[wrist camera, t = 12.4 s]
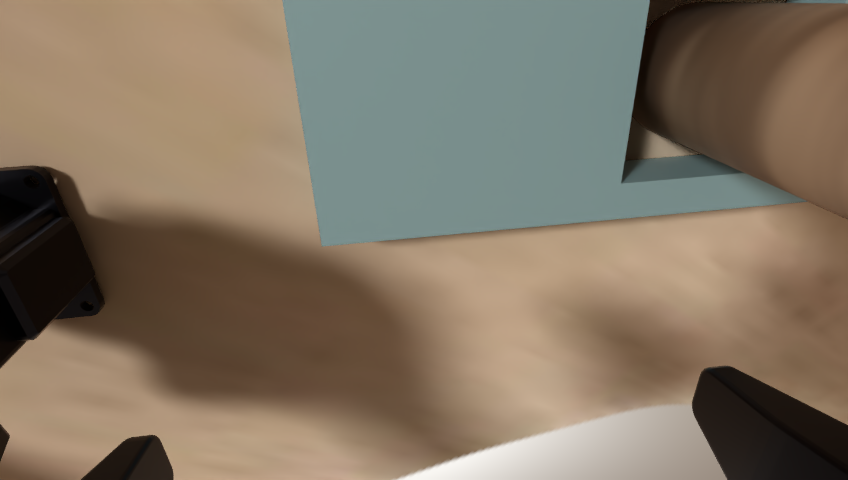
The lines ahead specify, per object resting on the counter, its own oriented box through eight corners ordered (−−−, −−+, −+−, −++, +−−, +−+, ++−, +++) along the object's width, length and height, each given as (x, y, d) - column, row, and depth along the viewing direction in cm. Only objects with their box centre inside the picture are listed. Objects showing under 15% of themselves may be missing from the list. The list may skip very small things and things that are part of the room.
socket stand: (326, 218, 20) (321, 246, 18) (283, -61, 15) (270, -71, 13) (767, 180, 22) (813, 201, 20) (847, -82, 17) (919, -93, 15)
